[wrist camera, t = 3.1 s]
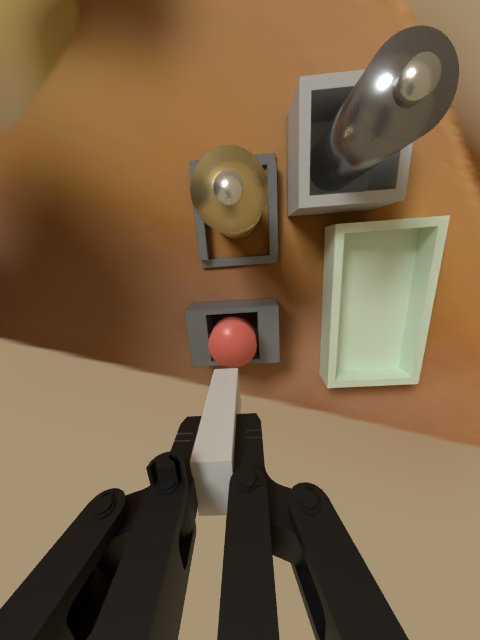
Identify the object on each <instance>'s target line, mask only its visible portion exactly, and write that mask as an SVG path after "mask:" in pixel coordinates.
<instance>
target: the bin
mask: <svg viewBox="0 0 480 640" xmlns="http://www.w3.org/2000/svg"><path fill="white" fill-rule="evenodd" d="M364 71H365V70H356V71H347V72H337V73H328V74H318V75H309V76H300V77H299V80H298V83H297V86H296V89H295V92H294V96H293V99H292V102H291V105H290V108H289V112H288V115H287V217H290V216H303V215H315V214H328V213H341V212H353V211H366V210H373V209H376V208H379V207H383V206H386V205H389V204H393V203H396V202H399V201H403V200H405V199H406V191H407V184H408V176H409V169H410V161H411V153H412V146H413V142H412V143H411V144H409V145H408V146H406V147H405V148H403V149H401V150H400V151H398V152H397V153H395V154H394V155H392V156H391V157H389V158H388V159H386V160H385V161H383V162H381V163H380V164H378V165H377V166H375V167H374V168H372V169H371V170H369V171H368V172H366V173H365V174H363V175H361V176H360V177H358V178H357V179H355V180H354V181H352V182H351V183H349V184H348V185H346V186H344V187H343V188H341V189H339V190H336V191H325V190H322V189H320V188H318V187H317V186H316V185H315V184H314V183H313V181H312V180H311V177H310V155H311V152H312V150H313V149H314V147H315V145H316V144H317V142H318V141H319V139H320V138H321V136H322V135H323V133H324V132H325V130H326V129H327V127H328V126H329V124H330V123H331V121H332V120H333V118H334V117H335V115H336V114H337V112H338V111H339V109H340V108H341V106H342V105H343V103H344V101H345V100H346V98H347V97H348V95H349V94H350V92H351V91H352V89H353V88H354V86H355V85H356V83H357V82H358V80H359V79H360V77H361V76H362V74H363V73H364Z"/></svg>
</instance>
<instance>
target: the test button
mask: <svg viewBox="0 0 480 640" xmlns="http://www.w3.org/2000/svg"><path fill="white" fill-rule="evenodd" d="M208 348H209V352H210V354H211V356H212V358H213V359H214V360H215V361H216V362H217V363H219V364H221V365H223V366H225V367H231V368H235V367H240V366H243V365H245V364H247V363H248V362H249V361H251V359H252V358H253V357H254V355H255V353H256V348H257V343H256V335H255V331H254V328H253V327H252V325H251V324H250V323H249V322H248V321H246V320H245V319H243V318H240V317H235V316H231V317H226V318H224V319H222V320H220V321H219V322H218V323H217V324H216V325H215V326H214V328H213V330H212V333H211V335H210V338H209V341H208Z"/></svg>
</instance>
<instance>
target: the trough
mask: <svg viewBox="0 0 480 640" xmlns="http://www.w3.org/2000/svg"><path fill="white" fill-rule="evenodd" d="M449 218H450V215H447V216H434V217H421V218H408V219H395V220H382V221H369V222H356V223H343V224H334V225H330V226H327V227H325V244H324V270H323V296H322V321H321V347H320V373H319V375H320V376H321V378H322V380H323V382H324V383H325V385H326V387H327V388H342V387H363V386H385V385H407V384H418V382H419V377H420V372H421V366H422V361H423V356H424V351H425V345H426V340H427V335H428V329H429V324H430V319H431V313H432V308H433V303H434V297H435V292H436V287H437V282H438V276H439V271H440V266H441V260H442V255H443V250H444V244H445V239H446V234H447V228H448V223H449Z"/></svg>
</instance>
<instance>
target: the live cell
mask: <svg viewBox="0 0 480 640" xmlns="http://www.w3.org/2000/svg"><path fill="white" fill-rule="evenodd" d="M267 197H268V181H267V177H266V174H265V171H264V169H263V167H262V165H261V163H260V162H259V160H258V159H257V158H256V157H255V156H254V155H253V154H252V153H250V152H249V151H247V150H246V149H244V148H241V147H238V146H233V145H225V146H220V147H217V148H214V149H212V150H211V151H209V152H208V153H206V154H205V155H204V156H203V157H202V158H201V160H200V161H199V162H198V164H197V165H196V167H195V170H194V172H193V175H192V179H191V198H192V202H193V205H194V208H195V210H196V212H197V214H198V215H199V217H200V218H201V219H202V220H203V221H204V222H205V223H206V224H207V225H208V226H210V227H211V228H213V229H215V230H216V231H218V232H220V233H222V234H223V235H225V236H227V237H229V238H232V239H241V238H244V237H246V236H248V235H249V234H250V233H251V232H252V231H253V230H254V229H255V227H256V225H257V223H258V221H259V219H260V217H261V214H262V212H263V210H264V208H265V205H266V202H267Z"/></svg>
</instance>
